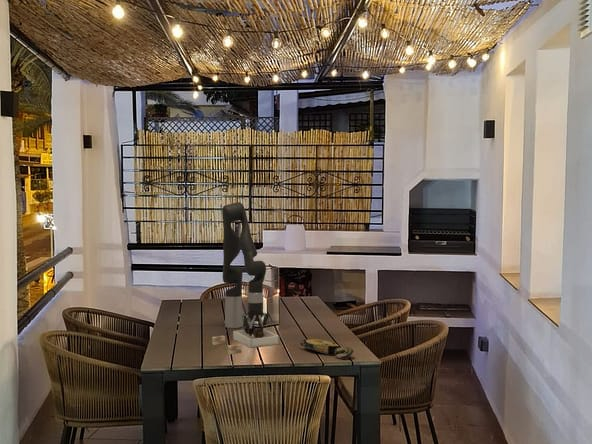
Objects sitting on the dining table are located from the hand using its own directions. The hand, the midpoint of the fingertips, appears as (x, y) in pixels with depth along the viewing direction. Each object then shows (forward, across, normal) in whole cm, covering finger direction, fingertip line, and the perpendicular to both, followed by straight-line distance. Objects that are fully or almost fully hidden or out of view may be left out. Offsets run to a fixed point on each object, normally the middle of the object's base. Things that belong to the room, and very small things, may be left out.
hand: (255, 334), depth 302 cm
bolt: (+1, 0, 0) cm, 1 cm away
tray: (+3, 0, 0) cm, 3 cm away
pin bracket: (+3, +18, +5) cm, 19 cm away
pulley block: (+4, -20, +35) cm, 41 cm away
